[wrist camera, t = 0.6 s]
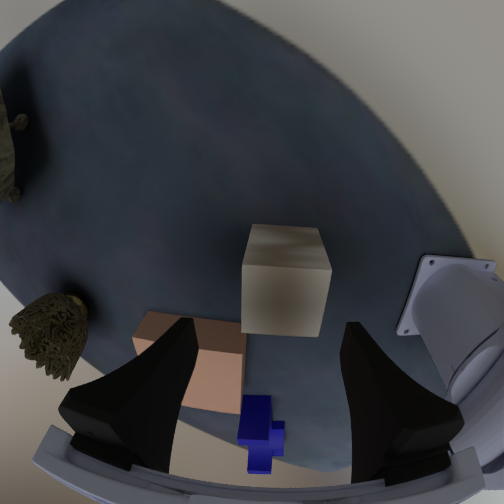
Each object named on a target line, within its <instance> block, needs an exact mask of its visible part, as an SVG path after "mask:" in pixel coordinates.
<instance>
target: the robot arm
mask: <svg viewBox="0 0 504 504" xmlns="http://www.w3.org/2000/svg"><path fill="white" fill-rule="evenodd" d="M431 260H432V262H431V263H429V262H430V261H431ZM495 268H496V262H495V261H493V260H484V259H473V258H462V257H450V256H438V255H424V256H423V257H422V258H421V260H420V263H419V267H418V270H417V273H416V276H415V280H414V283H413V286H412V289H411V292H410V294H409V297H408V300H407V303H406V306H405V308H404V311H403V314H402V316H401V319H400V321H399V324H398V326H397V329H396V332H397V335H421V337H422V339H423V341H424V343H425V345H426V347H427V349H428V351H429V353H430V355H431V357H432V359H433V361H434V363H435V365H436V367H437V369H438V371H439V374H440V376H441V378H442V380H443V382H444V385H445V387H446V389H447V391H448V395H447V396H446V398H445V399H442V398H441V397H439V396H437V395H435V394H434V393H432V392H430V391H429V390H427V389H426V388H424V387H423V386H421V385H420V384H418V383H417V382H416V381H414V380H413V379H412V378H410V377H409V376H408V375H407V374H406V373H405V372H403V371H402V370H401V369H400V368H399V367H398V366H397V365H396V364H395V363H394V362H393V361H392V360H391V359H390V358H389V357H388V356H387V355H386V354H385V353H384V351H383V350H382V349H381V348H380V347H379V346H378V344H377V343H376V342H375V341H374V340H373V338H372V337H371V336H370V335H369V333H368V332H367V331H366V330H365V328H364V327H363V326H362V325H361V323H360V322H347V324H346V328H345V333H344V337H343V341H342V345H341V349H340V363H341V372H342V377H343V381H344V386H345V390H346V395H347V400H348V404H349V410H350V416H351V431H352V476H351V484H347V485H339V486H327V487H311V488H262V487H247V486H235V485H227V484H219V483H212V482H206V481H200V480H194V479H189V478H184V477H179V476H175V475H171V474H169V465H170V458H171V451H172V444H173V439H174V434H175V428H176V424H177V419H178V415H179V411H180V407H181V404H182V401H183V398H184V395H185V393H186V390H187V387H188V385H189V382H190V379H191V376H192V374H193V371H194V368H195V365H196V361H197V356H198V351H199V345H198V340H197V335H196V330H195V324H194V319H193V318H190V317H181V318H179V319H178V320H177V321H176V322H175V323H174V324H173V325H172V326H171V327H170V328H169V329H168V330H167V331H166V332H165V333H164V334H163V335H162V336H160V337H159V338H158V339H157V340H156V341H155V342H154V343H153V344H152V345H150V346H149V347H148V348H147V349H146V350H144V351H143V352H142V353H141V354H139V355H138V356H137V357H135V358H134V359H133V360H131V361H130V362H128V363H127V364H125V365H123V366H122V367H120V368H118V369H116V370H115V371H113V372H111V373H109V374H107V375H105V376H103V377H101V378H99V379H96V380H94V381H92V382H89V383H86V384H83V385H81V386H77V387H74V388H70V390H69V391H68V393H67V394H66V396H65V398H64V399H63V401H62V402H61V404H60V406H59V408H58V410H59V413H60V415H61V416H62V418H63V419H64V420H65V421H66V422H67V423H68V424H69V426H70V427H71V428H72V429H73V430H74V431H75V434H74V436H72V435H70V434H69V433H67V432H65V431H63V430H61V429H59V428H57V427H55V426H53V425H51V426H50V427H49V429H48V431H47V433H46V435H45V436H44V438H43V440H42V442H41V444H40V445H39V448H38V449H37V451H36V453H35V455H34V457H33V459H32V462H33V463H34V464H36V465H37V466H38V467H40V468H41V469H42V470H43V471H45V472H46V473H48V474H49V475H51V476H52V477H53V478H55V479H56V480H58V481H59V482H61V483H63V484H64V485H66V486H68V487H70V488H72V489H74V490H75V491H77V492H79V493H81V494H83V495H85V496H87V497H89V498H91V499H93V500H95V501H97V502H99V503H101V504H459V503H461V502H463V501H465V500H466V499H468V498H470V497H472V496H473V495H475V494H477V493H478V492H480V491H482V490H503V489H504V282H503V281H502V280H501V279H500V278H499V277H498V276H497V275H496V274H495V273H494V270H495ZM405 330H406V331H405ZM184 494H186V495H190V496H186V495H184Z"/></svg>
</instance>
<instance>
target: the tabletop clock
mask: <svg viewBox="0 0 504 504" xmlns="http://www.w3.org/2000/svg"><path fill="white" fill-rule="evenodd" d="M27 125H28V116H27V115H26V114H20V115H18V116H17V117H16V118H15V120H14V122H11V123H8V118H7V113H6V108H5V104H4V100H3V96H2V92H1V87H0V203H1V202H2V201H3V199H4V198H5V197H6V196H7V195H8V199H9V201H10V202H11V203H16V202H18V201H19V200H20V197H21V191H20V189H19V188H18V187H14V170H15V153H14V146H13V141H12V137H11V133H10V129H12V128H15V129H16V130H17V131H22V130H24V129H25V128H26V126H27Z"/></svg>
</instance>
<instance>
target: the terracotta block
mask: <svg viewBox="0 0 504 504" xmlns="http://www.w3.org/2000/svg"><path fill="white" fill-rule="evenodd" d="M181 317H187V316H180V315H173V314H167V313H160V312H154V311H148V312H147V313H146V315H145V317H144V318H143V320H142V321H141V323H140V325H139V326H138V328H137V330H136V331H135V333H134V335H133V336H132V339H133V342H134V345H135V349H136V352H137V355H139V354H141V353H142V352H143V351H144V350H146V349H147V348H148V347H149V346H150V345H152V344H153V343H154V342H155V341H156V340H157V339H158V338H159V337H160V336H162V335H163V334H164V333H165V332H166V331H167V330H168V329H169V328H170V327H171V326H172V325H173V324H174V323H175V322H176V321H177V320H178V319H179V318H181ZM190 318H193V319H194V324H195V330H196V335H197V340H198V345H199V351H198V356H197V361H196V365H195V368H194V371H193V374H192V376H191V379H190V382H189V385H188V387H187V390H186V393H185V395H184V398H183V401H182V404H181V405H183V406H188V407H193V408H199V409H205V410H212V411H219V412H226V413H234V414H240V411H241V404H242V397H243V390H244V376H245V357H246V338H247V333H241V323H236V322H227V321H218V320H210V319H202V318H194V317H190Z"/></svg>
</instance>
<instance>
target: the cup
mask: <svg viewBox="0 0 504 504" xmlns="http://www.w3.org/2000/svg"><path fill="white" fill-rule="evenodd" d="M89 316H90V307H89V304H88V302H87V301H86V299H85V298H84V297H83V296H82V295H81V294H79V293H78V292H75V291H68V292H65V293H64V294H60V293H50V294H46V295H44V296H42V297H40V298H38V299H37V300H35V301H34V302H32V303H31V304H30V305H28V306H27V307H25V308H24V309H23V310H21V311H20V312H19V313H17V314H16V315H15V316H13V317H12V320H11V321H10V323H9V326H11V327H13V329H12V330H11V332H12V334H13V335H15V334H17V333H18V334H19V337H20V338H22V341H21V344H20V346H19V347H20V349H25V358H26V359H28V360H36V361H37V363H36V368H41V367H42V366H44V365H45V370H46V375H47V376H49V375H50V374H52V375H53V379H57V378H58V377H59V376H61V379H60V380H61V381H64V379H65V378H66V379H67V381H68V380H69V378H70V375H71V373H72V371H73V369H74V367H75V365H76V363H77V361H78V359H79V357H80V355H81V353H82V351H83V349H84V347H85V345H86V342H87V338H88V323H87V320H88V319H89Z"/></svg>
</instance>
